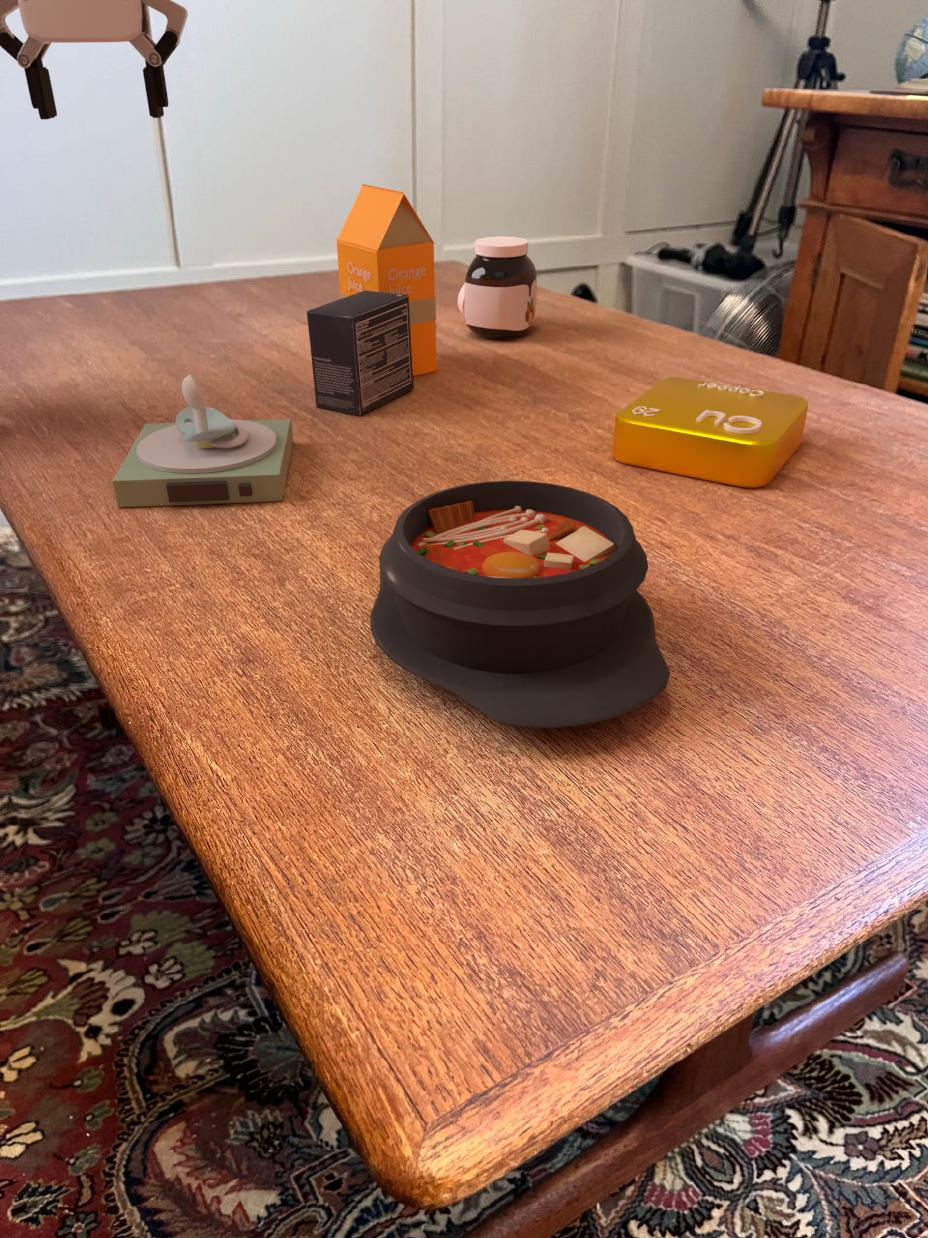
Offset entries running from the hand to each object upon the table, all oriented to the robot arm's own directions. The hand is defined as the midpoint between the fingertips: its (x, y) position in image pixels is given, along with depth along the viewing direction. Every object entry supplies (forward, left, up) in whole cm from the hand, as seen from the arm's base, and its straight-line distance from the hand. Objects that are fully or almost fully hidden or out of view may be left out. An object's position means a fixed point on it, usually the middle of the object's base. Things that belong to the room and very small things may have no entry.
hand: (103, 117), depth 89 cm
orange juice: (+25, +15, -28) cm, 41 cm away
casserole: (+32, -47, -28) cm, 64 cm away
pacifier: (+9, -16, -26) cm, 31 cm away
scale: (+8, -16, -28) cm, 33 cm away
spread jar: (+39, +31, -28) cm, 57 cm away
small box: (+22, +4, -28) cm, 36 cm away
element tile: (+55, -15, -28) cm, 64 cm away
